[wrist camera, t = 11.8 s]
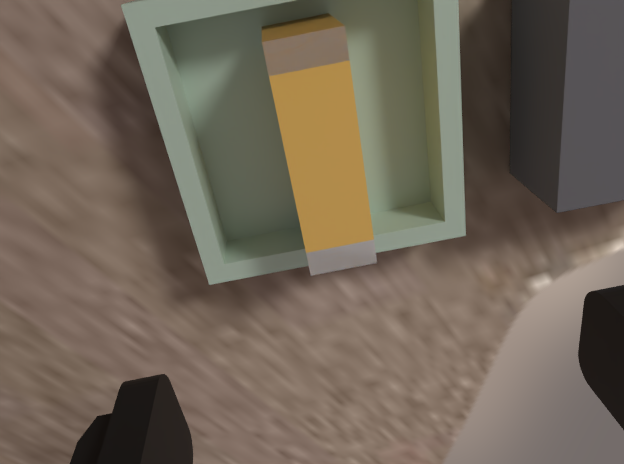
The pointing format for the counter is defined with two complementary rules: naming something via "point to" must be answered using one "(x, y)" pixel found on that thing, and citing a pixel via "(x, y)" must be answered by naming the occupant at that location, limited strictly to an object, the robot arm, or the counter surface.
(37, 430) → the counter surface
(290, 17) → the parts tray
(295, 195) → the block
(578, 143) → the block
